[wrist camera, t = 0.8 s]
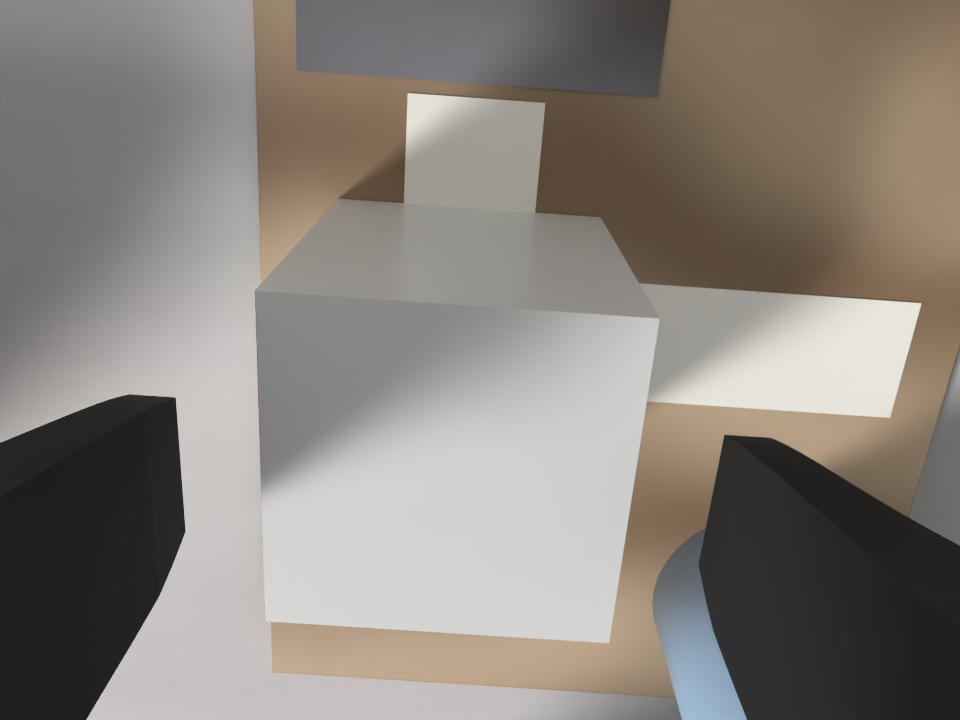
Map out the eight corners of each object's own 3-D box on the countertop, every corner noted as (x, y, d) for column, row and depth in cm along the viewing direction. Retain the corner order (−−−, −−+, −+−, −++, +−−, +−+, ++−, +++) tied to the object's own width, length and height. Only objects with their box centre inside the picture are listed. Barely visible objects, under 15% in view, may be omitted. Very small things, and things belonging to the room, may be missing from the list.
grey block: (571, 449, 18) (609, 643, 12) (336, 434, 18) (265, 621, 12) (600, 217, 16) (659, 318, 10) (337, 198, 16) (254, 290, 10)
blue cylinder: (827, 682, 20) (928, 879, 15) (639, 670, 20) (684, 865, 15) (872, 521, 18) (1001, 687, 14) (668, 507, 18) (729, 669, 14)
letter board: (846, 699, 21) (851, 709, 20) (275, 663, 20) (272, 673, 20) (1210, -539, 12) (1229, -554, 12) (241, -620, 12) (234, -638, 12)
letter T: (853, 548, 19) (853, 549, 19) (393, 518, 19) (392, 519, 18) (966, 133, 15) (967, 133, 15) (407, 92, 15) (407, 92, 15)
